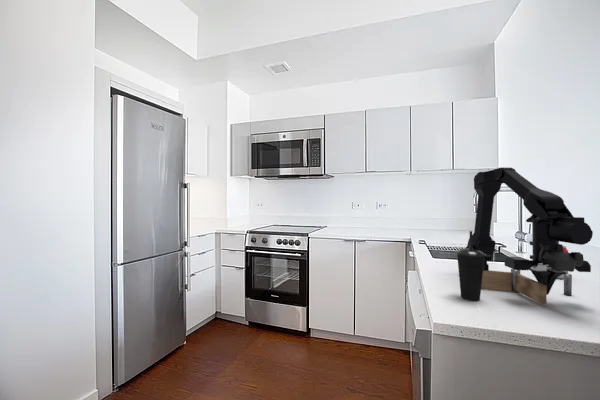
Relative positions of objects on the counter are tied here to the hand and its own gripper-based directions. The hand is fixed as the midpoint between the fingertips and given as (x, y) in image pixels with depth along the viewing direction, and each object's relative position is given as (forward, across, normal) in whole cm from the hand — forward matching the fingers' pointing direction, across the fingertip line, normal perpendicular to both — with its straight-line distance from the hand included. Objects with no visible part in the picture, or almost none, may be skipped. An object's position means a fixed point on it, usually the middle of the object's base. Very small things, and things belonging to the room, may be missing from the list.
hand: (545, 294), depth 81 cm
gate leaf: (+2, -2, +3) cm, 4 cm away
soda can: (+3, +23, +32) cm, 39 cm away
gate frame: (+3, 0, +11) cm, 11 cm away
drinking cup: (+3, -19, +1) cm, 20 cm away
